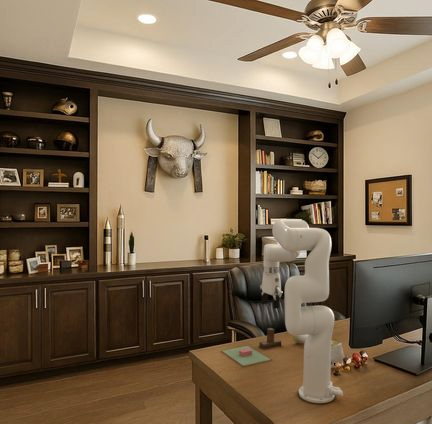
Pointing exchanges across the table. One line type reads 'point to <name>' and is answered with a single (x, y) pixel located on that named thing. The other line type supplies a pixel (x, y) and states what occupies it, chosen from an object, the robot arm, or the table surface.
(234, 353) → the desk pad
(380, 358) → the table surface
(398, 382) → the table surface
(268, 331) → the brown t-shaped block
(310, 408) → the table surface
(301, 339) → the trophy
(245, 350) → the eraser
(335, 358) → the arrowhead
